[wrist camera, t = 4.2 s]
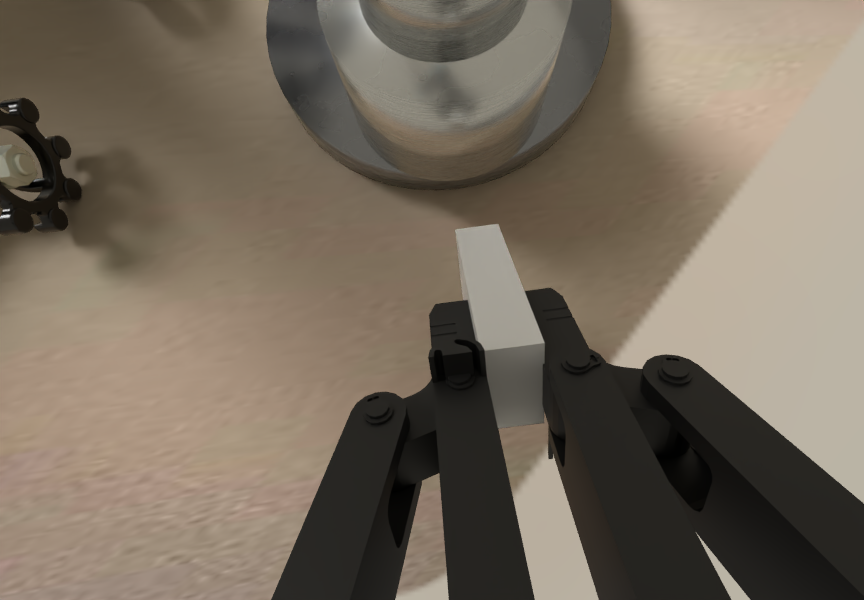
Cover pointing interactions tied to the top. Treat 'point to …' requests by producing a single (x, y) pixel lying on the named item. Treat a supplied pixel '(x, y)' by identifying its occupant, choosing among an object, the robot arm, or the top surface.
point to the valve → (32, 173)
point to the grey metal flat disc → (334, 118)
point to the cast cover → (445, 77)
